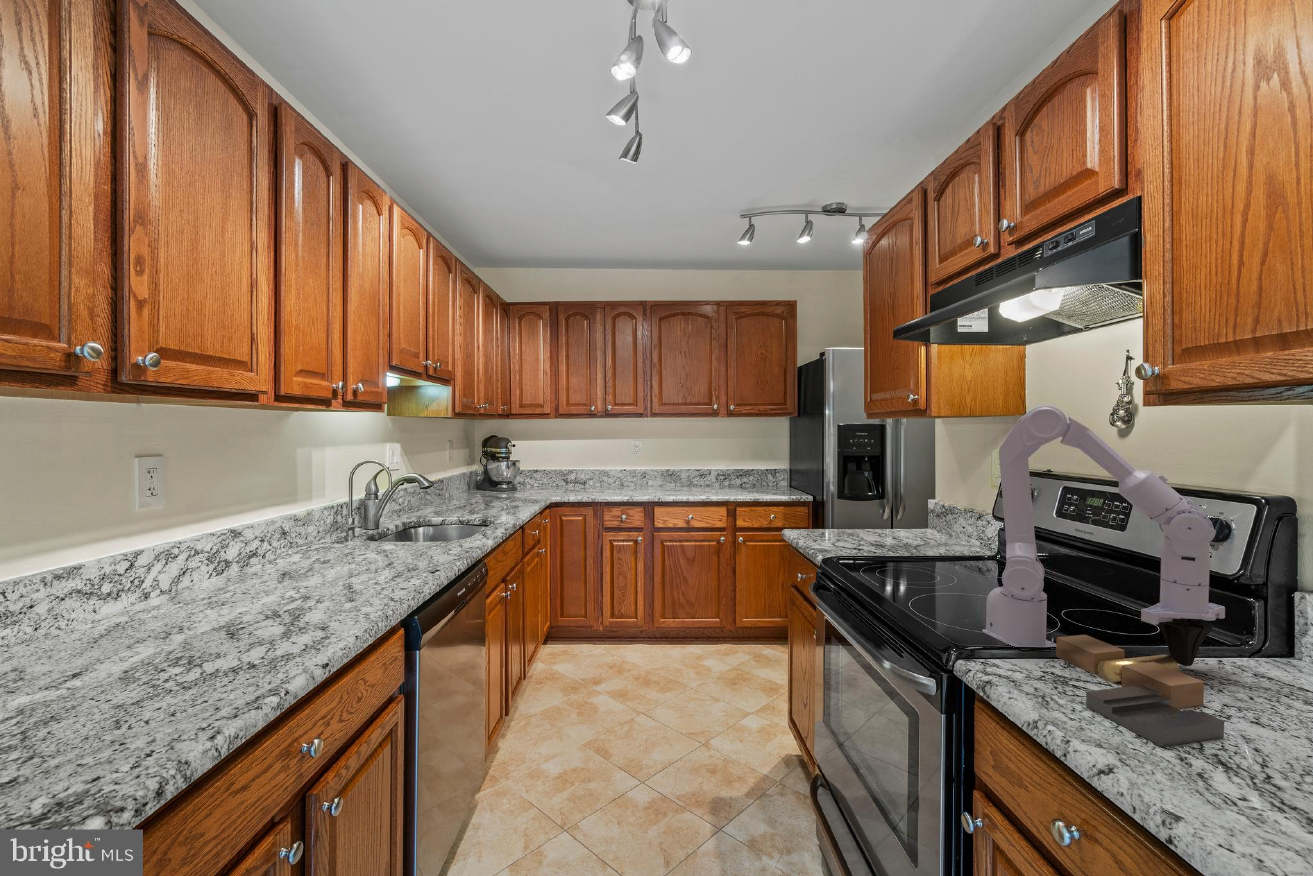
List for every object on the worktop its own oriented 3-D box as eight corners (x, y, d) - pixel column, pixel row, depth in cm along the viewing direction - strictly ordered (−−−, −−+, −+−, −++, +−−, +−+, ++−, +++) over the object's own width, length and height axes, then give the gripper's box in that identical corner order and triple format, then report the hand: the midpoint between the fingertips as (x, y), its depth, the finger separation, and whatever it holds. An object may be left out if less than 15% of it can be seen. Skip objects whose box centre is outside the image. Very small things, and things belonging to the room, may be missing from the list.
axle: (1117, 686, 86) (1117, 666, 86) (1097, 677, 89) (1097, 657, 89) (1179, 679, 88) (1179, 659, 88) (1157, 670, 91) (1157, 651, 91)
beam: (1056, 656, 96) (1056, 637, 96) (1084, 653, 98) (1085, 634, 97) (1170, 709, 79) (1170, 685, 79) (1203, 705, 80) (1204, 682, 80)
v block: (1086, 706, 80) (1086, 691, 79) (1142, 699, 81) (1142, 685, 81) (1161, 746, 70) (1162, 729, 70) (1223, 737, 72) (1224, 721, 72)
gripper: (1176, 591, 85) (1173, 678, 85) (1249, 585, 87) (1246, 670, 88) (1128, 578, 92) (1126, 659, 92) (1197, 573, 94) (1195, 652, 95)
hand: (1181, 663), depth 90 cm, fingers closed
